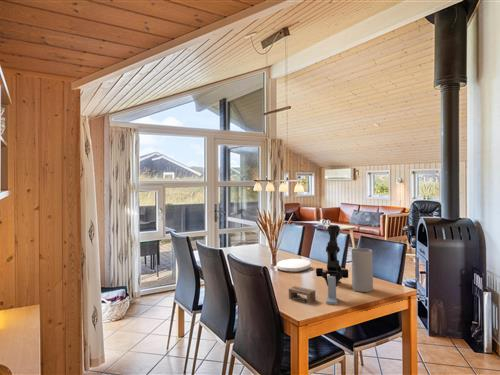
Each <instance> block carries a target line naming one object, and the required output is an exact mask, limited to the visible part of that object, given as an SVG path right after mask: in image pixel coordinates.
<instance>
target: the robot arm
mask: <svg viewBox="0 0 500 375" xmlns="http://www.w3.org/2000/svg"><path fill="white" fill-rule="evenodd" d="M326 228H327V232H328V235H329V241H328V242H327V244H326V248H325V252H326V253H327V254H326V255H327V262H326V263H327V264H326V269H323V267H316V269H315V275H316V276H315V277H320V278H321V277H322V278H323V279H324V280H325V283H326V286H327V287H328V275H329V276H336V287H338V284H340V283H342V281H341V280H342V279H349V270H348V269H347V268H342V267H341V265H340V260H338V253H339V252H340V250H341V248H340V247H339V245H338V240H337V239H338V237H339V235H340V232H341V226H339V225H338V224H329V226H326Z"/></svg>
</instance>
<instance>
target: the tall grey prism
mask: <svg viewBox="0 0 500 375" xmlns="http://www.w3.org/2000/svg"><path fill="white" fill-rule="evenodd" d="M327 279H328V286H327V296H326V300H325V304H326V305H332V306H333V305H335V306H336V305H338V297H337V286H336V276H330V275H327Z"/></svg>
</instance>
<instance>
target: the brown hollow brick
mask: <svg viewBox="0 0 500 375" xmlns="http://www.w3.org/2000/svg"><path fill="white" fill-rule="evenodd" d="M301 295H302V296H306V299H305V298H302V297H301ZM316 297H317V296H316V290H315V289H311V288H306V287H301V286H297V285H294V286H292V287H290V288H288V299H292V300H295V301H299V302H303V303H306V304H311V303H312V302H314V301H316Z"/></svg>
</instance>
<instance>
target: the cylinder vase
mask: <svg viewBox="0 0 500 375" xmlns="http://www.w3.org/2000/svg"><path fill="white" fill-rule="evenodd" d="M350 250H351V283H352V284H351V286H352V287H351V288H352V289H353V290H354V291H355V292H359V293H370V292H372V291H373V290H374V268H373V266H374V265H373V250H372V249H370V248H364V247H357V248H356V247H354V248H351V249H350Z"/></svg>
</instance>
